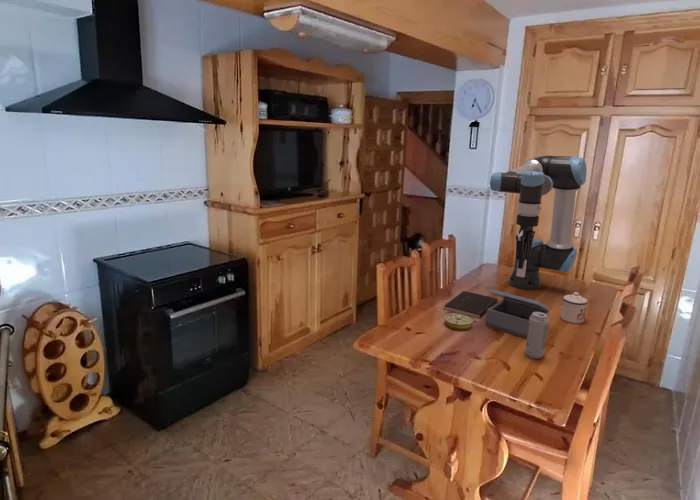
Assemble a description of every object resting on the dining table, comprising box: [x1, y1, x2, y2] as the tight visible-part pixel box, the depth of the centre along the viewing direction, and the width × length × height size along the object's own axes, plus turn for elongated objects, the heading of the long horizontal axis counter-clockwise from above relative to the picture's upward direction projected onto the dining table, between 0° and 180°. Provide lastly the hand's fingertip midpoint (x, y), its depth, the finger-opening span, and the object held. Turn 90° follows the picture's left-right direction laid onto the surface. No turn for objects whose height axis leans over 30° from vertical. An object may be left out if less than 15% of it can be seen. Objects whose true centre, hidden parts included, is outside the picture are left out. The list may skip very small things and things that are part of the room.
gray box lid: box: [489, 288, 551, 312], centre depth 176 cm, size 16×18×1 cm
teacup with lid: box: [560, 291, 588, 324], centre depth 186 cm, size 12×9×12 cm
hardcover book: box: [443, 290, 499, 319], centre depth 198 cm, size 16×23×2 cm
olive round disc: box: [444, 313, 474, 331], centre depth 177 cm, size 10×11×4 cm
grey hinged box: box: [485, 298, 550, 340], centre depth 177 cm, size 16×18×7 cm
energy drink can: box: [524, 312, 550, 360], centre depth 153 cm, size 6×6×15 cm
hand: (520, 276), depth 171 cm, fingers closed
